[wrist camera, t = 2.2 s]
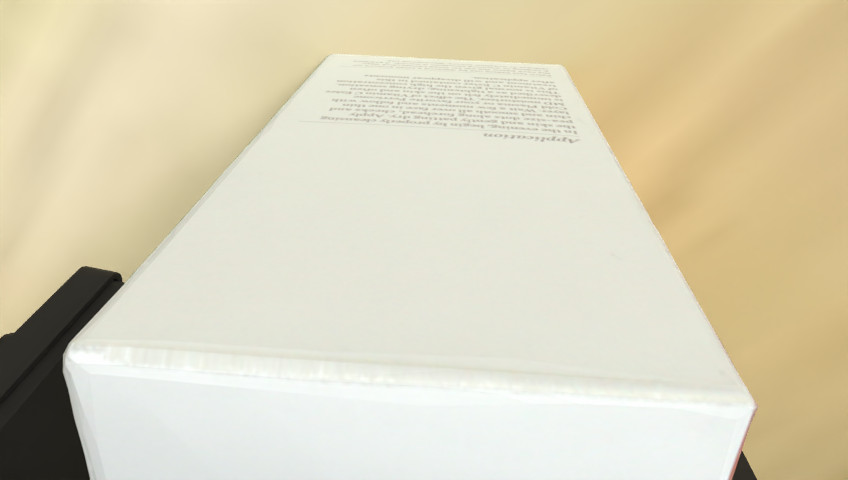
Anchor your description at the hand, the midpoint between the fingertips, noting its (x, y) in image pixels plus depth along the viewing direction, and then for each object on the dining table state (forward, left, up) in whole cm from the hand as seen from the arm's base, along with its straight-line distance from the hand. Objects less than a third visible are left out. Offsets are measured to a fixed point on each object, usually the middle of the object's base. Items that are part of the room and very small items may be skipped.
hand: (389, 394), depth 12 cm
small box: (-1, 0, -9) cm, 9 cm away
